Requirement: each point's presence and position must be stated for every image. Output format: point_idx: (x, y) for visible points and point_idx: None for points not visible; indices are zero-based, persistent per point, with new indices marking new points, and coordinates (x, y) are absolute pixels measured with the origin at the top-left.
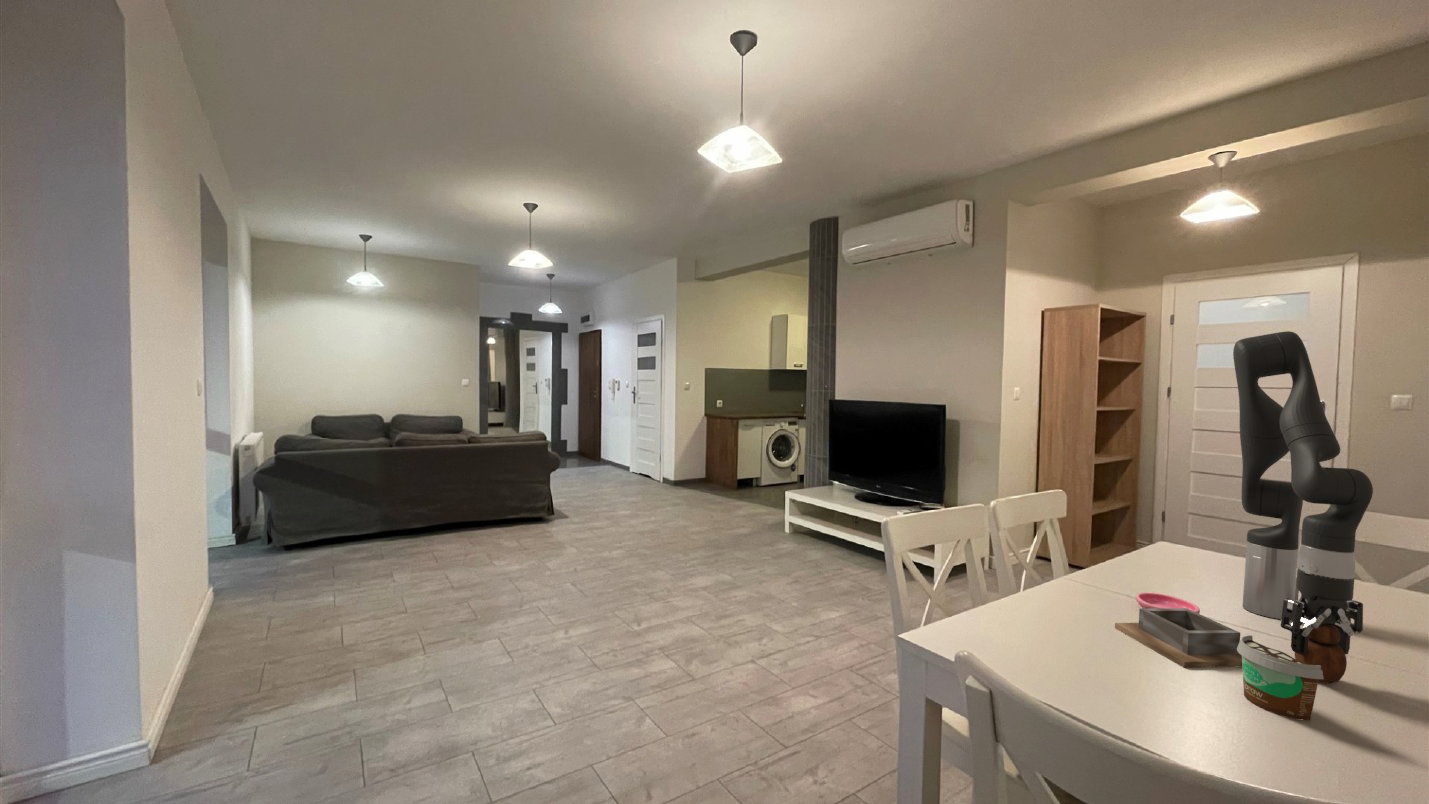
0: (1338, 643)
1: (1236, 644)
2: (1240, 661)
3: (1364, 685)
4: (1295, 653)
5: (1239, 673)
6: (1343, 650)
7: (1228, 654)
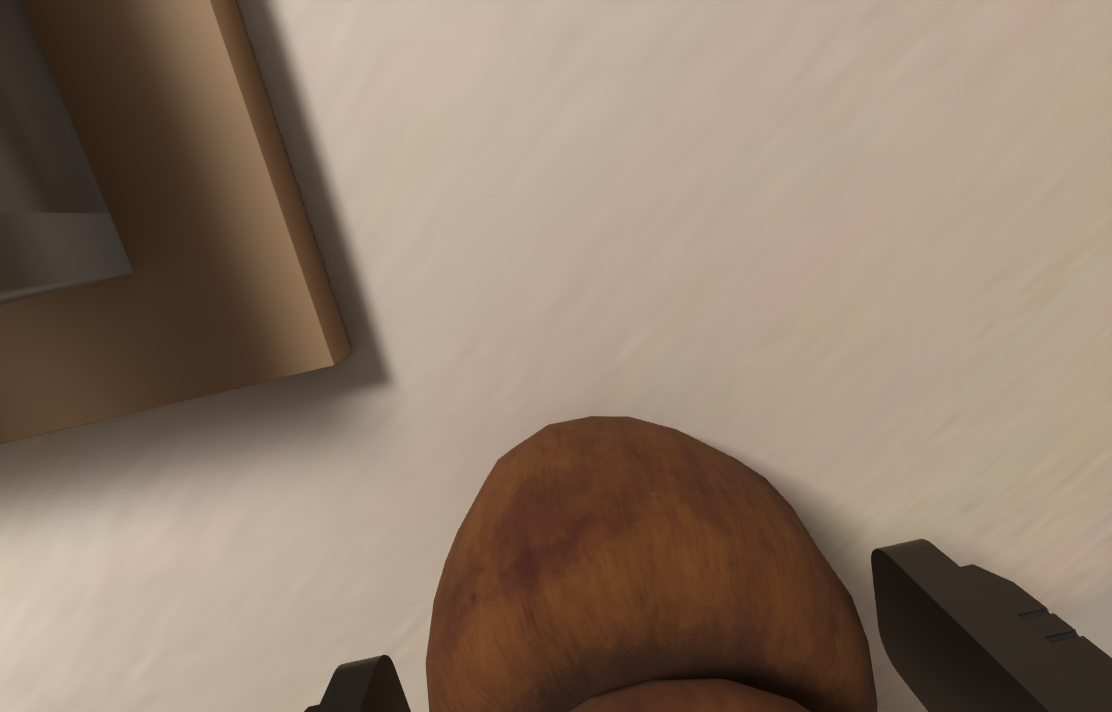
0: (953, 676)
1: (8, 295)
2: (72, 425)
3: (875, 518)
4: (458, 536)
5: (49, 521)
6: (909, 679)
7: (21, 304)
